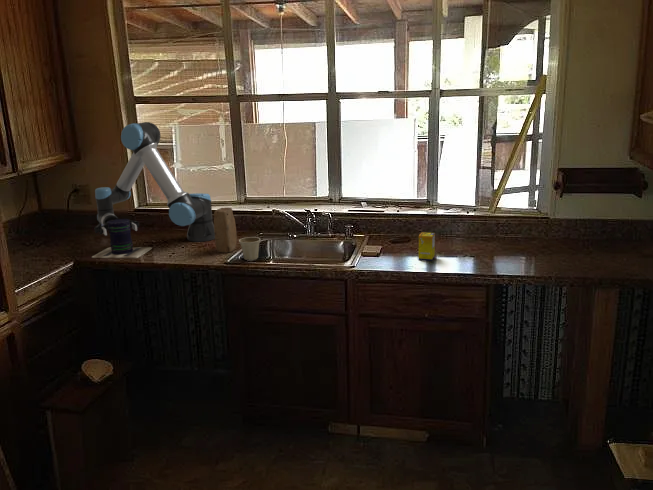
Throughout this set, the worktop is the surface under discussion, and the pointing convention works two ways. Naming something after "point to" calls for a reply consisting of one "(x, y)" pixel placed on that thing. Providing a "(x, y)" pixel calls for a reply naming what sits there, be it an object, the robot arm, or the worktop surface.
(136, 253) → the board
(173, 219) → the robot arm
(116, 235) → the dark blue can
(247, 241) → the flower pot
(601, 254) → the worktop surface
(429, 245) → the supplement box
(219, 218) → the block
